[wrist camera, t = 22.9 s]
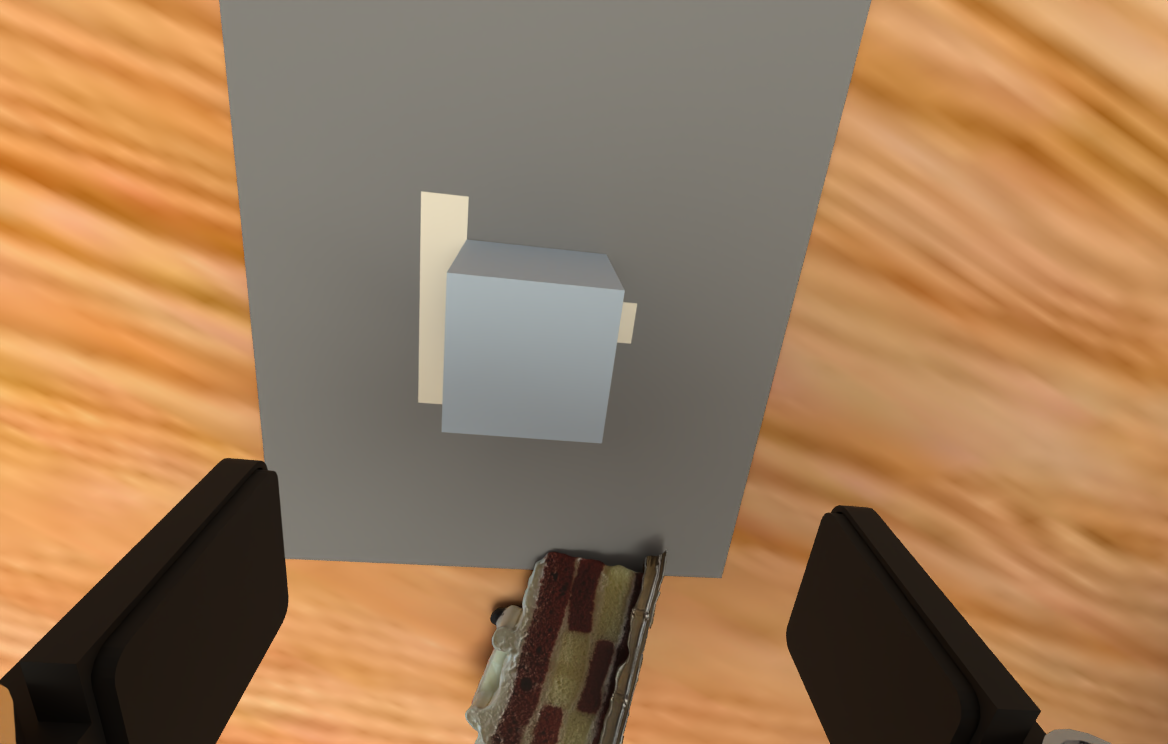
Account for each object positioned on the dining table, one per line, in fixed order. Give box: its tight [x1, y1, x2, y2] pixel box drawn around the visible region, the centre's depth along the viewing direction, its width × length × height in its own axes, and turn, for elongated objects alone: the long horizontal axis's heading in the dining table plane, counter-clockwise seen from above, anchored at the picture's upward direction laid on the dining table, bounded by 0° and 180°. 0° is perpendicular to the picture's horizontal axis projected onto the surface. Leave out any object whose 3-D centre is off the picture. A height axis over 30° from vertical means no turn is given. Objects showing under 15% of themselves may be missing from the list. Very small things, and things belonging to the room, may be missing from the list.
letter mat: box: [219, 0, 871, 578], centre depth 22 cm, size 20×24×1 cm
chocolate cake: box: [465, 549, 667, 744], centre depth 27 cm, size 10×7×12 cm
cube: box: [441, 239, 625, 443], centre depth 20 cm, size 5×5×5 cm
